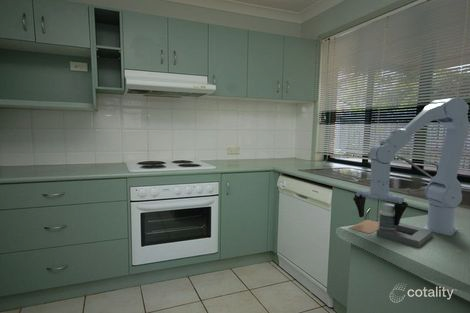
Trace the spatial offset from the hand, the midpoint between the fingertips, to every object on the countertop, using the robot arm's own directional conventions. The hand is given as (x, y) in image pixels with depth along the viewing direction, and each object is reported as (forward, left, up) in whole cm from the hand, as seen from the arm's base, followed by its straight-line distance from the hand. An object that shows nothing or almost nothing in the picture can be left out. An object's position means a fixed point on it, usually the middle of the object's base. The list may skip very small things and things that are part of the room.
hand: (377, 220), depth 97 cm
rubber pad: (0, -3, -3) cm, 4 cm away
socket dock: (0, +7, -3) cm, 8 cm away
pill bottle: (0, +3, -3) cm, 4 cm away
